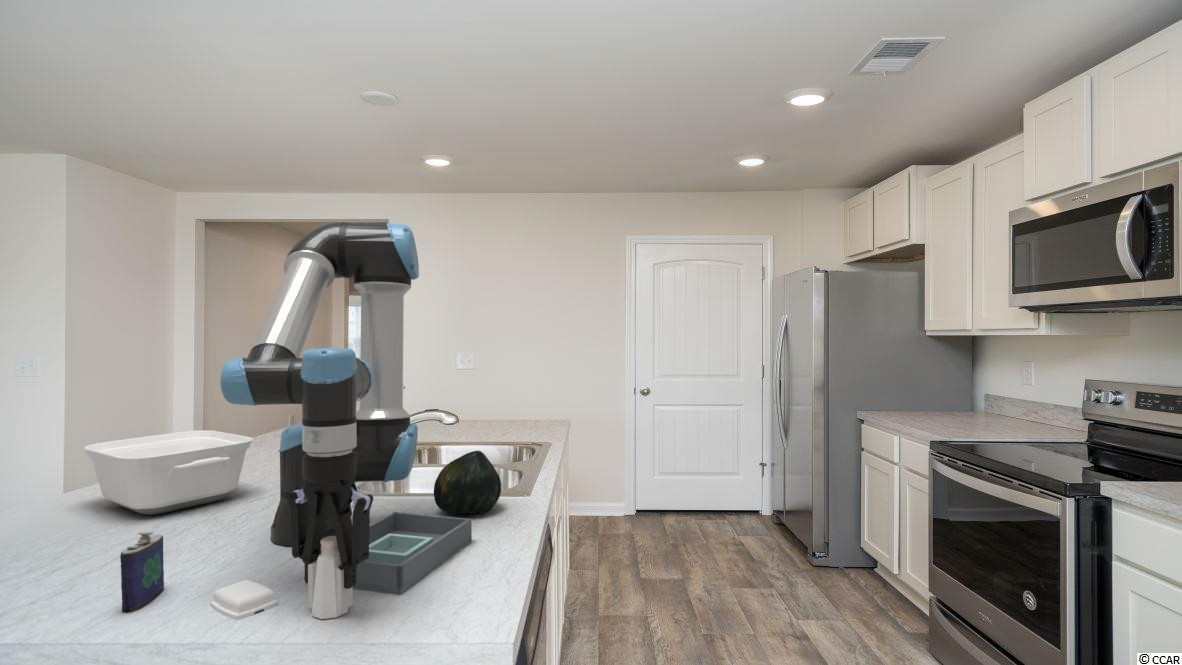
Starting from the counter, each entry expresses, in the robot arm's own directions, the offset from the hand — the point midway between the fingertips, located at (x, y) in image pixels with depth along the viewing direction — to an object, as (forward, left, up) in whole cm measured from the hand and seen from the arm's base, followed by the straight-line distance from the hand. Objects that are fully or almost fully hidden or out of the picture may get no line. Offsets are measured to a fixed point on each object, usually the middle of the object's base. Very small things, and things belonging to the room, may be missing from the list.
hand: (330, 606), depth 94 cm
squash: (-3, +52, -1) cm, 52 cm away
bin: (-2, +21, -1) cm, 21 cm away
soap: (-14, -1, -1) cm, 15 cm away
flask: (-31, -4, -1) cm, 31 cm away
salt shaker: (0, 0, -1) cm, 1 cm away
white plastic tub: (-75, +39, -1) cm, 84 cm away
